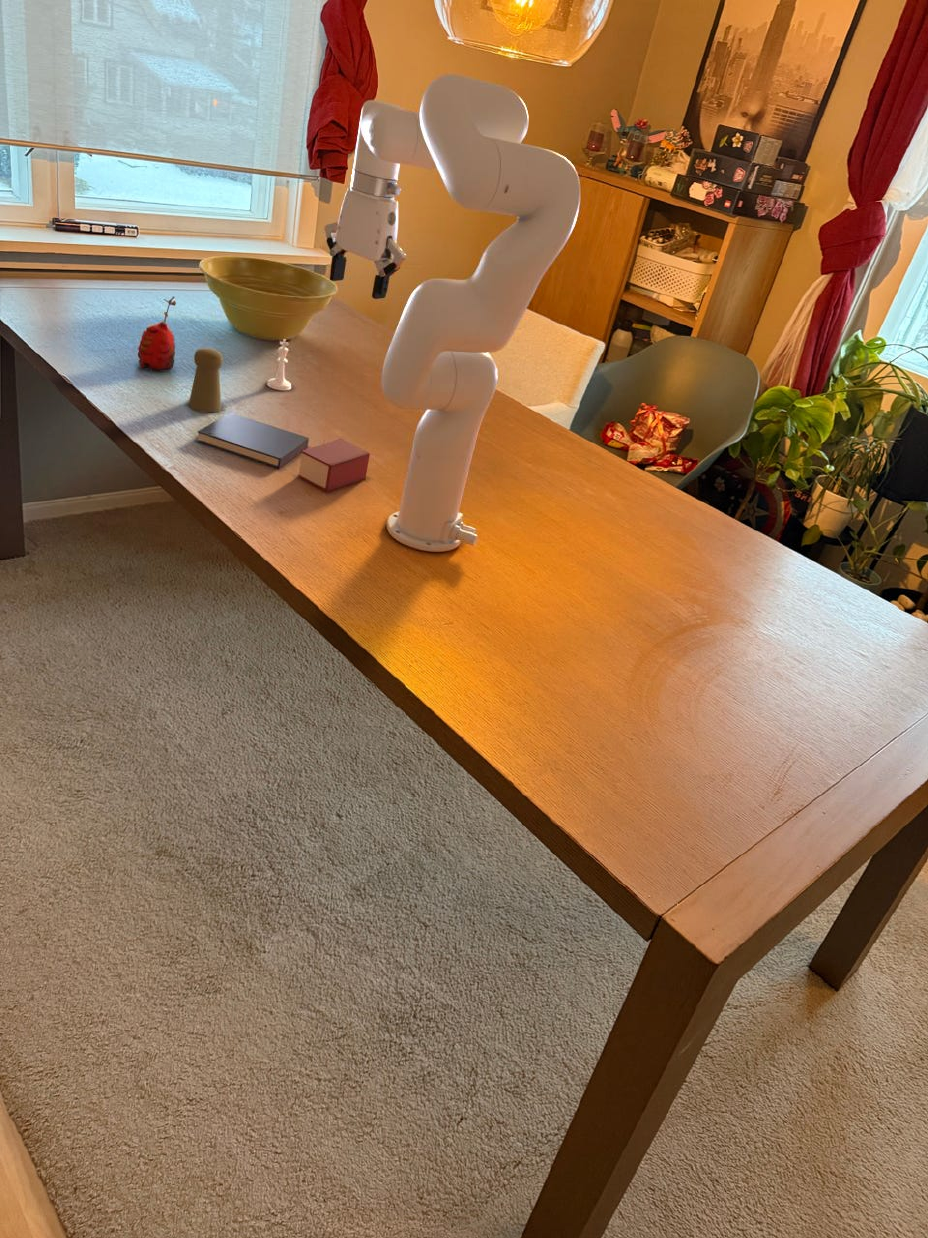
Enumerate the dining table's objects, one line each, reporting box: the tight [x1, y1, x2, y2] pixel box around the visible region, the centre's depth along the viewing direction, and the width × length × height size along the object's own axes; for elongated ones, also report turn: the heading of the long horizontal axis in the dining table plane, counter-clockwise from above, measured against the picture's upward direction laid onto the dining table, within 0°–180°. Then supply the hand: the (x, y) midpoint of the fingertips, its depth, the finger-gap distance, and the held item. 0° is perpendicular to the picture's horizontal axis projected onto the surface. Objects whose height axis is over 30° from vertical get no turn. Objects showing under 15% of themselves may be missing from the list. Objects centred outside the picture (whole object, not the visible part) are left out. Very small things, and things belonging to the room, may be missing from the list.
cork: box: [188, 347, 224, 413], centre depth 173 cm, size 6×6×11 cm
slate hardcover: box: [196, 411, 310, 470], centre depth 165 cm, size 16×12×2 cm
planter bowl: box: [198, 255, 339, 341], centre depth 218 cm, size 32×32×13 cm
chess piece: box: [266, 339, 292, 391], centre depth 190 cm, size 5×5×10 cm
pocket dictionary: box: [297, 438, 371, 493], centre depth 160 cm, size 7×10×5 cm, turn 146°
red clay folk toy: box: [137, 296, 177, 372], centre depth 183 cm, size 8×7×15 cm
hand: (357, 288), depth 162 cm, fingers open, 9 cm apart
